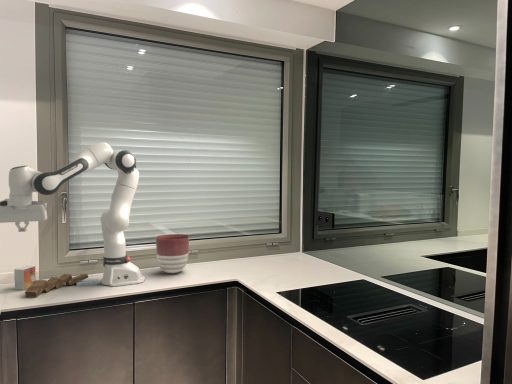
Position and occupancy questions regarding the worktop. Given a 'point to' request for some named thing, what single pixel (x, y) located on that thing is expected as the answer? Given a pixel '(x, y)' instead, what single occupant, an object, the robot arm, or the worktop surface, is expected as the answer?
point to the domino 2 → (51, 284)
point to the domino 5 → (87, 282)
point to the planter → (172, 252)
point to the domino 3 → (63, 280)
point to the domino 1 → (36, 288)
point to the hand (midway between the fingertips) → (22, 231)
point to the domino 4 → (77, 279)
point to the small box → (24, 277)
